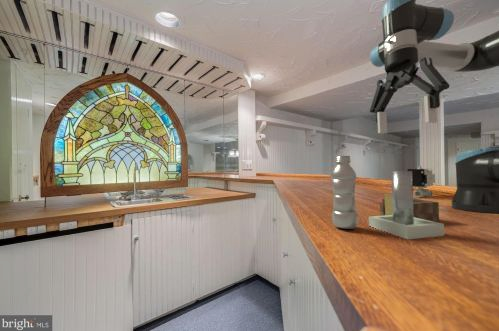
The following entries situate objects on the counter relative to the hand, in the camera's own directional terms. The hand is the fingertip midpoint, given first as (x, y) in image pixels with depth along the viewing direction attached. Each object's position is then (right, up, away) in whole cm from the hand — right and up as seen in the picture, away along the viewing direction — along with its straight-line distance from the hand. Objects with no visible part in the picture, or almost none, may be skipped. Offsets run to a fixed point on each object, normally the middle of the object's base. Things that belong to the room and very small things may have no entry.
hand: (404, 128), depth 55 cm
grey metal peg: (-3, -27, -3) cm, 27 cm away
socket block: (+7, -28, +8) cm, 29 cm away
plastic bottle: (-17, -28, 0) cm, 33 cm away
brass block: (+2, -27, +7) cm, 28 cm away
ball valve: (+54, -29, +56) cm, 83 cm away
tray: (-3, -28, -3) cm, 28 cm away
